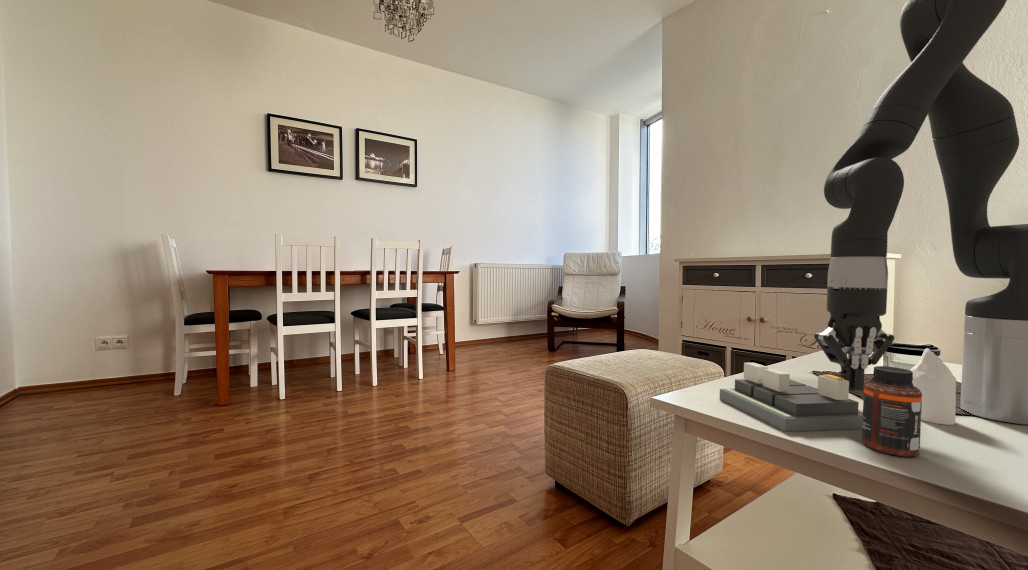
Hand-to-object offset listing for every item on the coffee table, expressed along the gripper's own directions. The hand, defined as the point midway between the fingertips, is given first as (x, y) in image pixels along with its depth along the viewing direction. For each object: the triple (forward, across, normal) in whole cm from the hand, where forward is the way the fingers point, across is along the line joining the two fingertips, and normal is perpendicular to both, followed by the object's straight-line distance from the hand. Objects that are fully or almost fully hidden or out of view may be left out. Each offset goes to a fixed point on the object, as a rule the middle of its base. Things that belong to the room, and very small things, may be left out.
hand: (851, 389), depth 67 cm
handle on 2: (+1, +10, -5) cm, 11 cm away
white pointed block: (+6, -16, 0) cm, 16 cm away
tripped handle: (+1, +4, 0) cm, 4 cm away
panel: (+5, +6, -5) cm, 10 cm away
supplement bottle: (+6, +4, +10) cm, 12 cm away
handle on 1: (+1, +10, -10) cm, 14 cm away
